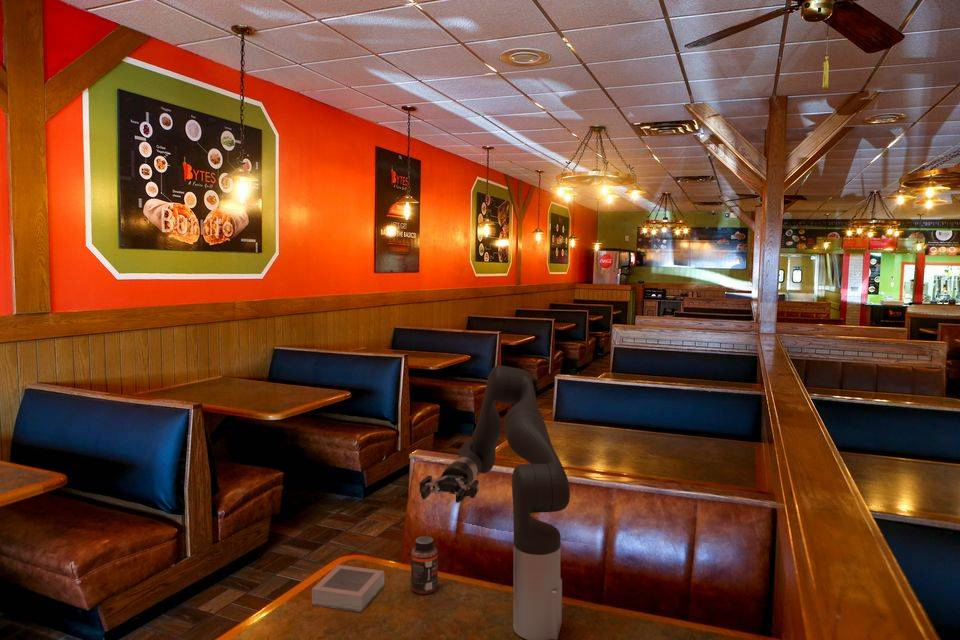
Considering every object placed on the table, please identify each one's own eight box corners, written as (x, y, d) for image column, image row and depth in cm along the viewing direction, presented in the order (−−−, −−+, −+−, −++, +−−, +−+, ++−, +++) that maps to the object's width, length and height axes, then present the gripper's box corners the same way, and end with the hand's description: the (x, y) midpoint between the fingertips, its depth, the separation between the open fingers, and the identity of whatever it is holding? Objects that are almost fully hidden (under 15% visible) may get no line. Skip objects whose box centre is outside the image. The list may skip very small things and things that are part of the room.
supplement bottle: (436, 595, 139) (436, 545, 138) (409, 595, 139) (409, 545, 138) (439, 582, 145) (438, 534, 144) (413, 582, 145) (412, 534, 144)
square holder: (384, 585, 143) (384, 570, 143) (361, 612, 132) (361, 596, 132) (338, 579, 146) (337, 564, 146) (312, 604, 135) (311, 589, 135)
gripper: (434, 459, 168) (411, 479, 153) (486, 463, 165) (468, 484, 149) (434, 486, 169) (412, 509, 154) (486, 491, 165) (468, 515, 150)
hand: (440, 497), depth 151 cm, fingers open, 8 cm apart
